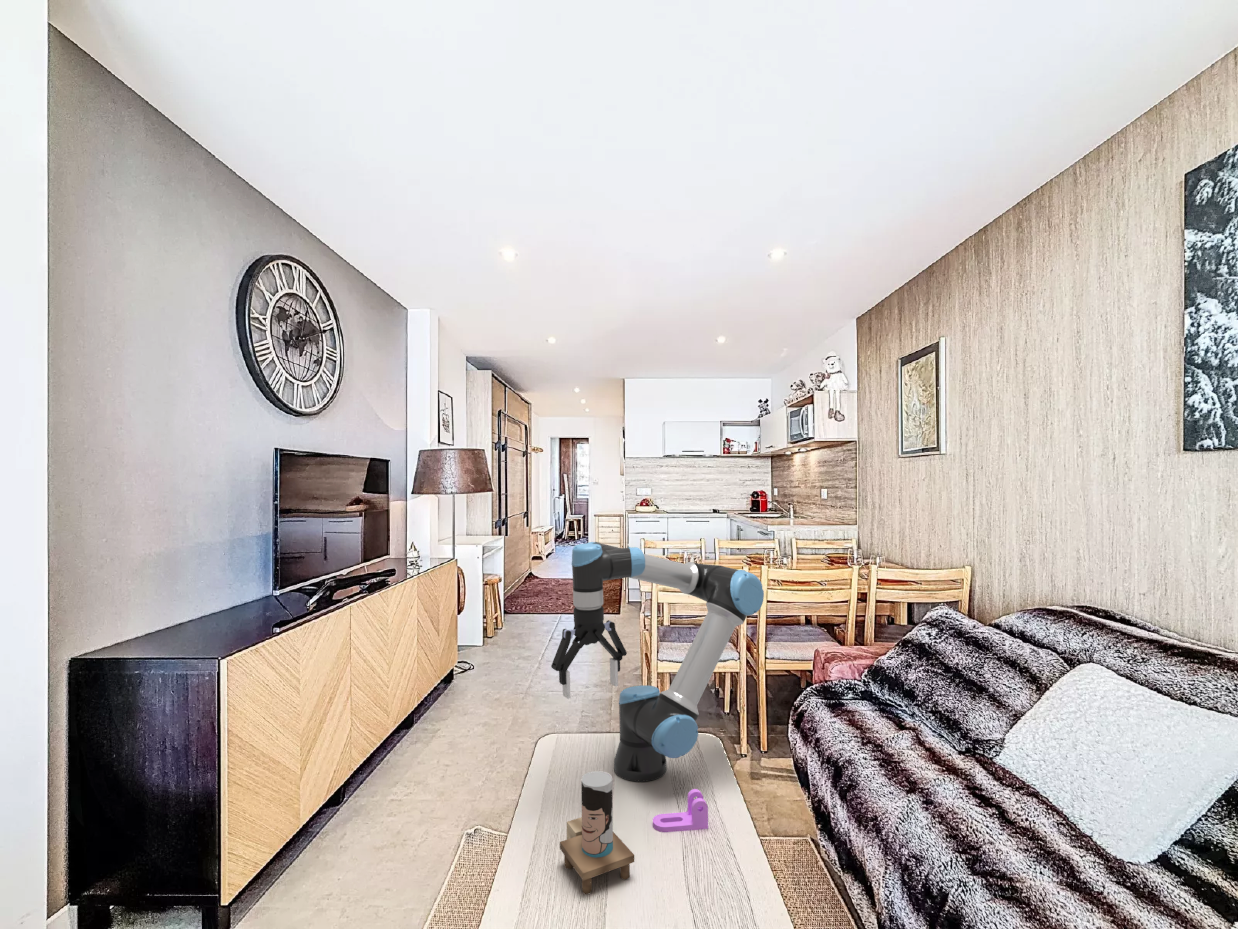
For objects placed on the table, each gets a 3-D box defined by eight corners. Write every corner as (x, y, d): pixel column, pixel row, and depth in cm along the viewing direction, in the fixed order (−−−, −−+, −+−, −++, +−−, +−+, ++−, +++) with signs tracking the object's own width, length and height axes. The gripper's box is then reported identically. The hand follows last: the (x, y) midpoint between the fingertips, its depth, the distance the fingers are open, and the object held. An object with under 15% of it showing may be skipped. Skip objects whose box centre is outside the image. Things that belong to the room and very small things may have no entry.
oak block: (586, 836, 148) (586, 815, 148) (595, 848, 143) (595, 826, 143) (566, 843, 145) (566, 821, 145) (575, 855, 141) (575, 833, 141)
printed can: (579, 840, 138) (578, 772, 138) (609, 836, 139) (608, 769, 139) (584, 859, 131) (583, 788, 131) (615, 855, 133) (615, 784, 133)
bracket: (702, 816, 156) (701, 788, 156) (708, 829, 150) (707, 800, 150) (650, 820, 154) (650, 792, 154) (654, 833, 149) (654, 804, 149)
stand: (608, 847, 143) (608, 826, 143) (634, 878, 133) (634, 854, 133) (560, 864, 138) (559, 841, 138) (583, 897, 127) (583, 873, 127)
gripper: (623, 596, 166) (625, 675, 167) (536, 611, 153) (539, 697, 154) (638, 601, 160) (640, 684, 160) (549, 617, 147) (552, 707, 147)
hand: (590, 690), depth 157 cm, fingers open, 13 cm apart
